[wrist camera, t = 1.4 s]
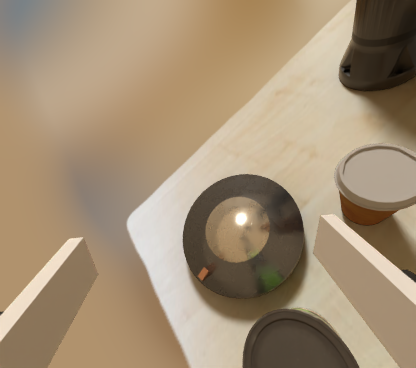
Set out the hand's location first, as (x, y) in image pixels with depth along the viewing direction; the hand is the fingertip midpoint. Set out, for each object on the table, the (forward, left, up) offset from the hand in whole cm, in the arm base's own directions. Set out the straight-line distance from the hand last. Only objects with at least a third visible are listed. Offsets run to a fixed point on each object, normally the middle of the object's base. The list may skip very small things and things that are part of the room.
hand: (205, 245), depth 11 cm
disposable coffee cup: (-19, +5, -29) cm, 35 cm away
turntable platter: (-4, -11, -27) cm, 30 cm away
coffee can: (+5, +7, -29) cm, 31 cm away
